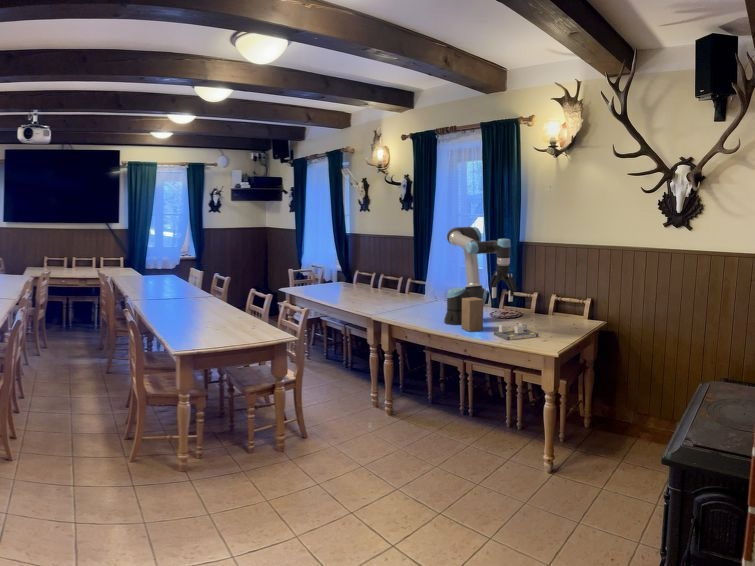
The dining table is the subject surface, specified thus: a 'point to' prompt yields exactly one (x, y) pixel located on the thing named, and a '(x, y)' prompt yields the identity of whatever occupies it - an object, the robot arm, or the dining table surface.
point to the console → (512, 335)
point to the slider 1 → (503, 328)
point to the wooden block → (472, 314)
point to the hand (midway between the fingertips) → (502, 299)
